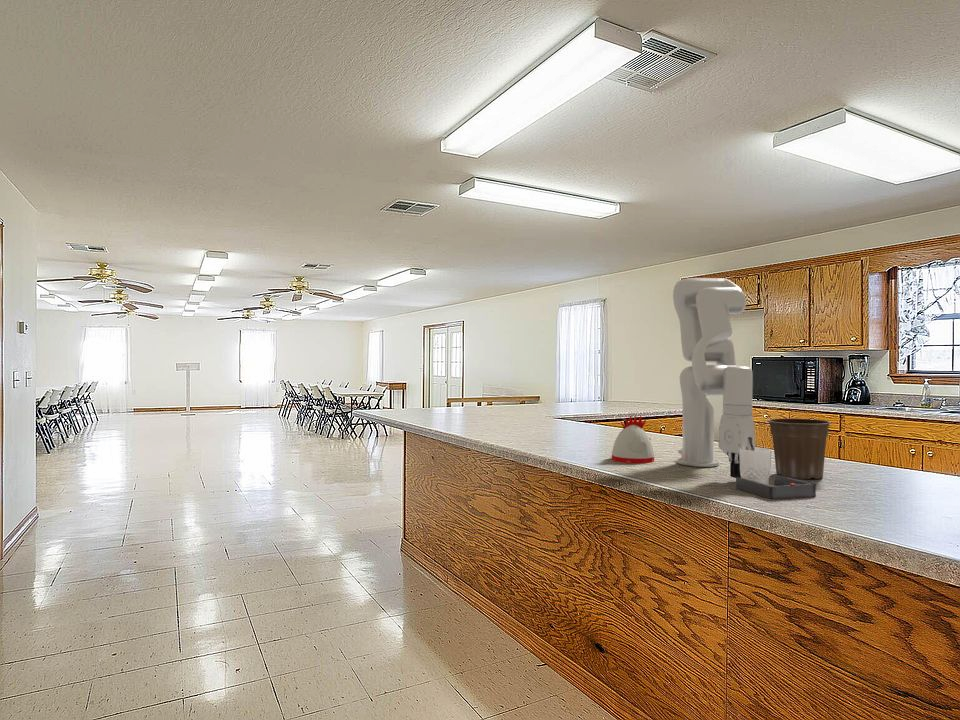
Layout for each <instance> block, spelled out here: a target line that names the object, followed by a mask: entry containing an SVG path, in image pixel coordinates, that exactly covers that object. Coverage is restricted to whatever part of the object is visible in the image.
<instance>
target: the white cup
mask: <svg viewBox="0 0 960 720" xmlns="http://www.w3.org/2000/svg"><path fill="white" fill-rule="evenodd" d="M751 450H752V447H751ZM739 461H740V475H741V478H745V479H749V480H752V481H756V482H760V483H763V484H767V485H770V476H771V475H770V474H771V462H772V449H770V448H766V447H759V446H758V447H757V446H755V450H754V451H753V450H752V451H749V450H742V449H740V448H739Z"/></svg>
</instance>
